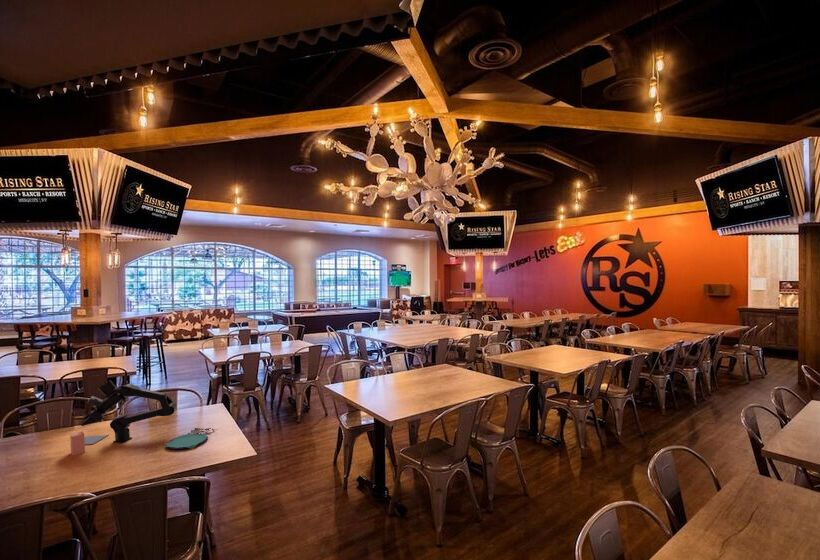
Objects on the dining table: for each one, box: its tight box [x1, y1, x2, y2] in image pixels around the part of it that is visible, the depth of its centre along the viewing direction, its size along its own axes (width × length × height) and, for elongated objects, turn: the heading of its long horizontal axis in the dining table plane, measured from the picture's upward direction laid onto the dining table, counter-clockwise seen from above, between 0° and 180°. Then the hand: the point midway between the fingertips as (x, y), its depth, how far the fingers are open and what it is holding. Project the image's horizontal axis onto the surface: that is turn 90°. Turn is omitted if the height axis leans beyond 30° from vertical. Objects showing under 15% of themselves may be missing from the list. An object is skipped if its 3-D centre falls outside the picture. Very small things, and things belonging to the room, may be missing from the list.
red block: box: [69, 431, 86, 457], centre depth 209 cm, size 5×5×10 cm
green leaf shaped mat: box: [165, 427, 211, 450], centre depth 223 cm, size 20×30×2 cm, turn 176°
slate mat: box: [84, 434, 109, 446], centre depth 224 cm, size 12×12×1 cm
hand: (82, 422), depth 215 cm, fingers open, 9 cm apart
